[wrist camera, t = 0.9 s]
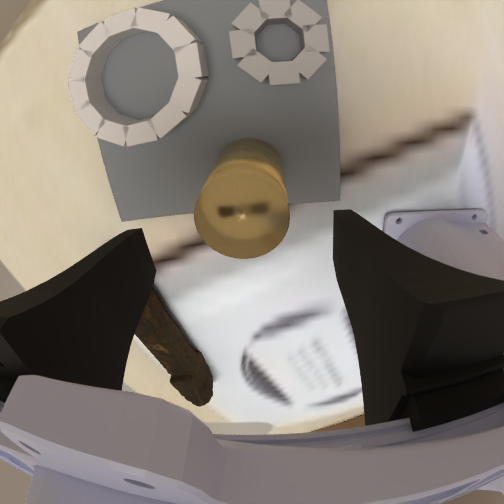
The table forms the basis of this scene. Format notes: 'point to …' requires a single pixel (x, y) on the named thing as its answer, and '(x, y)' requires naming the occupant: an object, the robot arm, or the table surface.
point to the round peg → (244, 201)
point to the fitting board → (208, 97)
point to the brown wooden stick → (175, 353)
